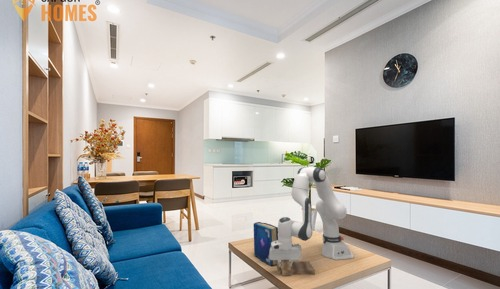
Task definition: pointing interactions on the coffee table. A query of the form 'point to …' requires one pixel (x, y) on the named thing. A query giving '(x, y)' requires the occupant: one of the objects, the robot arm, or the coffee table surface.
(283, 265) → the block
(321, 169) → the robot arm
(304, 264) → the board
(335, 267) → the coffee table surface
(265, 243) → the book
